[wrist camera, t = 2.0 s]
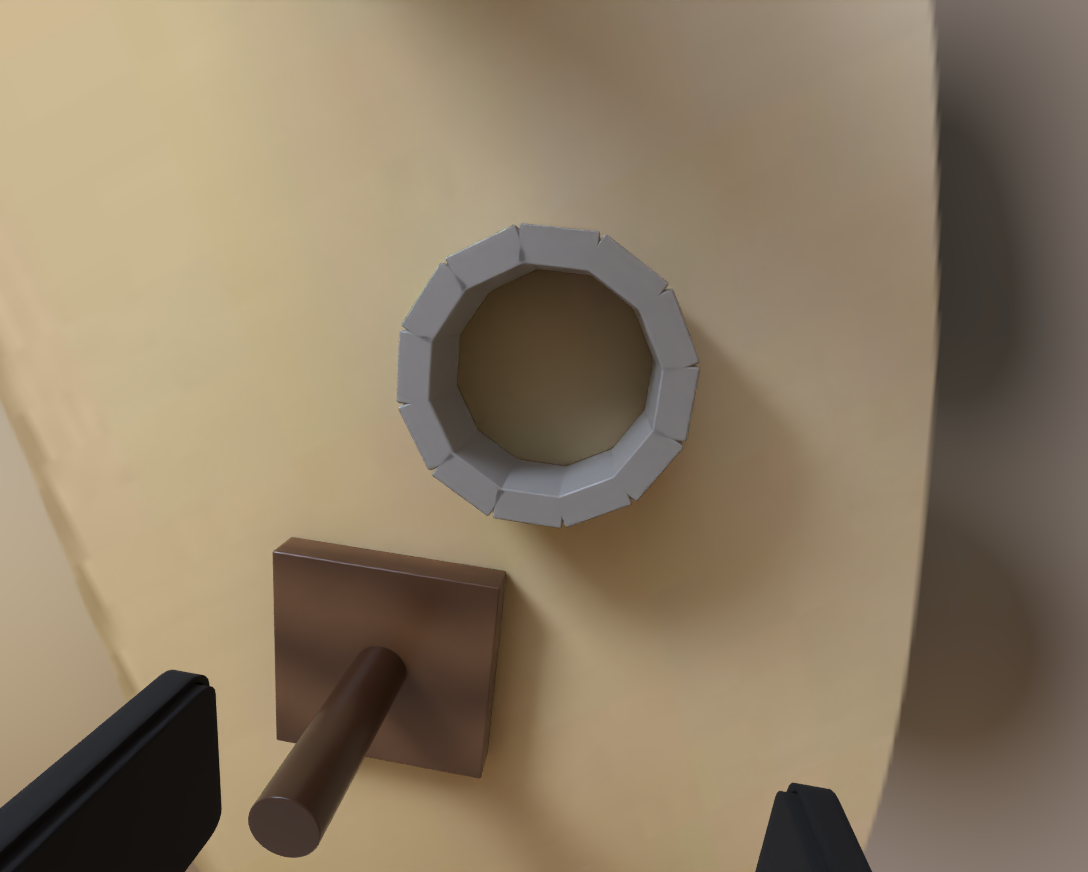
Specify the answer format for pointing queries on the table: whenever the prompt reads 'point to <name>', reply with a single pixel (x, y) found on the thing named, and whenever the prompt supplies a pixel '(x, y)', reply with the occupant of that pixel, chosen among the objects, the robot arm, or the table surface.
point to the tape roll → (480, 461)
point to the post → (373, 676)
